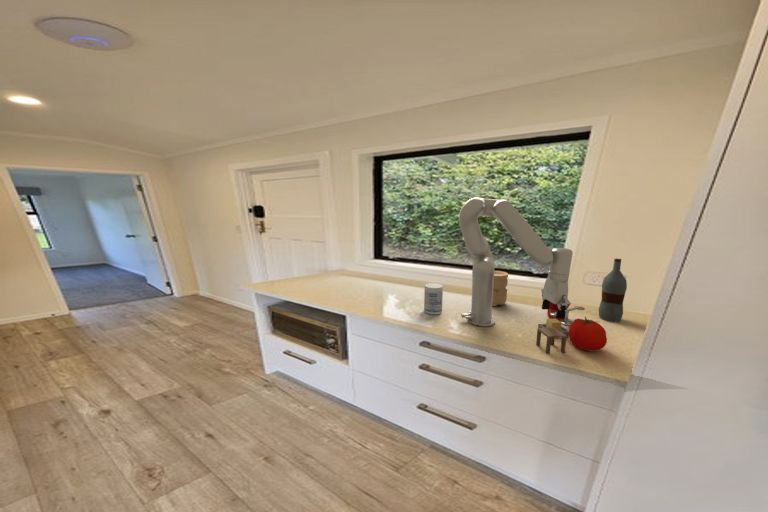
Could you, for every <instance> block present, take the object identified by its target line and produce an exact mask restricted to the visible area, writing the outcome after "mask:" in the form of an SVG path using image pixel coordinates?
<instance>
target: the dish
mask: <svg viewBox="0 0 768 512" xmlns="http://www.w3.org/2000/svg"><path fill="white" fill-rule="evenodd" d="M538 328H546V323H538V324H537V329H538ZM568 331H569V329H567V328H566V327H564V326H563V325H561V332H562V333H564V334H565V335H567V336H566V338H568V337H569V334H568Z"/></svg>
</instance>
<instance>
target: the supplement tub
mask: <svg viewBox="0 0 768 512" xmlns="http://www.w3.org/2000/svg"><path fill="white" fill-rule="evenodd" d="M443 289H444V287H443V285H442V284H440V283H436V282H435V283H433V282H431V283H430V282H429V283H426V284H425V285H424V298H423V299H424V300H423V304H424V305H423V311H424V312H425V313H426V314H428V315H431V316H432V315H435V316H436V315H439V314H441V313H442V312H443V298H444V297H443V293H444V292H443Z"/></svg>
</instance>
